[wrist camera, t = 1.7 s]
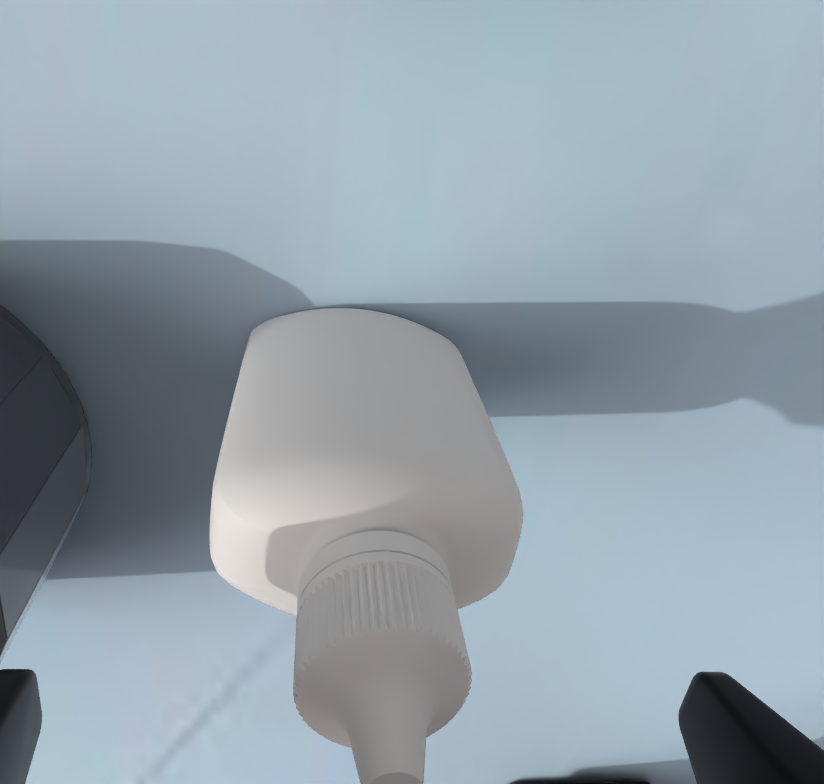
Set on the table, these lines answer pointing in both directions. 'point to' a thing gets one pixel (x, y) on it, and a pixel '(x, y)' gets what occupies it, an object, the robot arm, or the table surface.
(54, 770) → the table surface
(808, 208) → the table surface
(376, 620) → the eye dropper bottle
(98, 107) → the table surface
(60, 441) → the tumbler
